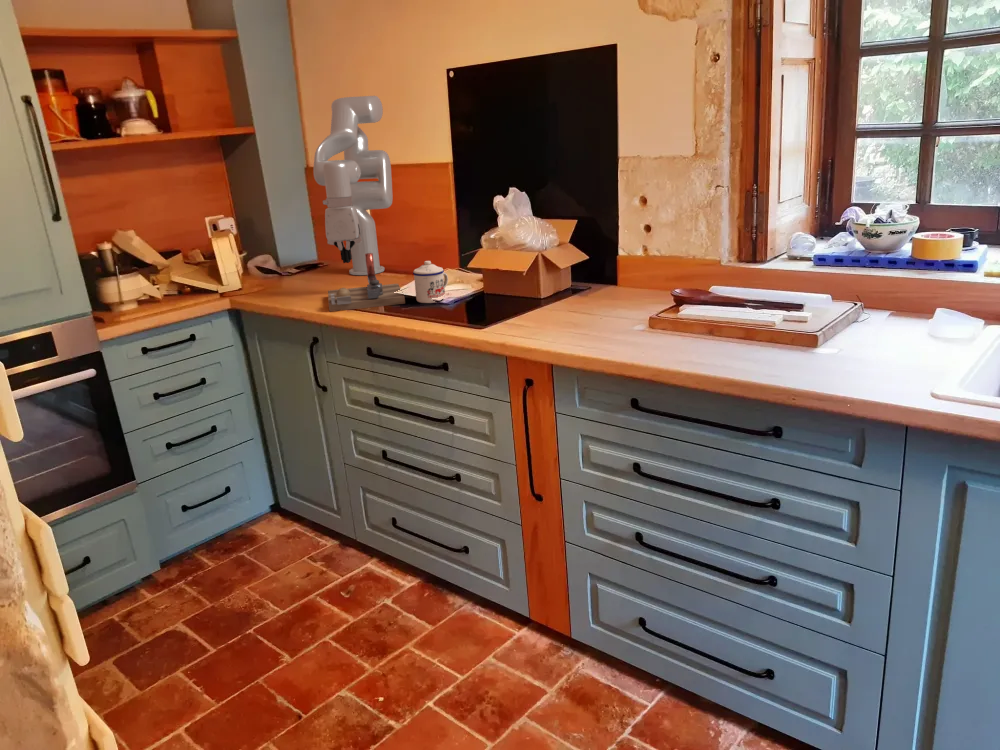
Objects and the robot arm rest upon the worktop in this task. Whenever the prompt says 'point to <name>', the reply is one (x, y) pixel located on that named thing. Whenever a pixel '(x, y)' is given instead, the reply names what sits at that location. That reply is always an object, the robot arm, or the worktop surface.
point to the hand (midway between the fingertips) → (347, 262)
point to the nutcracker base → (365, 298)
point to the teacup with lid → (429, 282)
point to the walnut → (342, 292)
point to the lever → (372, 278)
